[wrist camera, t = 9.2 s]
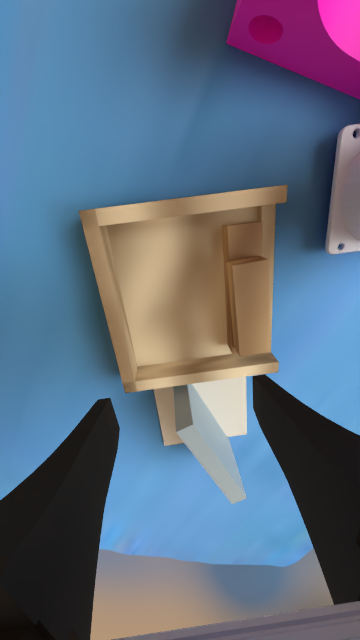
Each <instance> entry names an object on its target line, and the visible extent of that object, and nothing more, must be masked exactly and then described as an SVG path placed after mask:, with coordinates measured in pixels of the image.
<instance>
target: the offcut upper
mask: <svg viewBox="0 0 360 640" xmlns="http://www.w3.org/2000/svg"><path fill="white" fill-rule="evenodd" d="M226 264H227V275H228V285H229V296H230V307H231V317H232V328H233V339H234V347H235V349H236V351H237V353H238V354H239V356H240V357H243V356H248V355H254V354H259V353H265V352H270V351H271V334H270V294H269V259H267V258H264V257H261V256H256V257H250V258H245V259H240V260H234V261H229V262H226Z"/></svg>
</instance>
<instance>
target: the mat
mask: <svg viewBox="0 0 360 640" xmlns="http://www.w3.org/2000/svg"><path fill="white" fill-rule="evenodd" d="M192 385H193V386H194V388H195V389H196V391H197V392H198V394H199V395H200V397H201V398H202V400H203V401H204V403H205V404H206V406H207V407H208V409H209V410H210V412H211V413H212V415H213V416H214V418H215V419H216V421H217V422H218V424H219V425H220V427H221V428H222V430H223V431H224V433H225V434H226V436H227V437H231V436H238V435H245V434H247V414H246V376H245V377H238V378H231V379H223V380H216V381H209V382H202V383H194V384H192ZM154 394H155V399H156V404H157V410H158V415H159V420H160V425H161V430H162V435H163V440H164V445H165V446H167V445H174V444H181V443H184V442H183V441H182V439H181V438H180V437H179V435H178V434H177V433H176V423H175V407H174V391H173V386H172V387H165V388H158V389H154Z"/></svg>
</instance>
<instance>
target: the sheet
mask: <svg viewBox="0 0 360 640" xmlns="http://www.w3.org/2000/svg"><path fill="white" fill-rule="evenodd" d="M173 391H174V407H175V423H176V433H177V434H178V435H179V437H180V438H181V439H182V441H183V442H184V443H185V444H186V446H187V447H188V448H189V449H190V451H191V452H192V453H193V455H194V456H195V457H196V458H197V460H198V461H199V462H200V464H201V465H202V466H203V467H204V469H205V470H206V471H207V473H208V474H209V475H210V476H211V478H212V479H213V480H214V481H215V483H216V484H217V485H218V487H219V488H220V489H221V490H222V492H223V493H224V494H225V496H226V497H227V498H228V499H229V501H230V502H231V503H232V504H233V503H236V502H238V501H241V500H243V499H246V498H247V497H246V494H245V491H244V487H243V484H242V481H241V477H240V474H239V471H238V468H237V464H236V461H235V458H234V454H233V451H232V448H231V444H230V441H229V439H228V437H227V436H226V434H225V433H224V431H223V430H222V428H221V427H220V425H219V424H218V422H217V421H216V419H215V418H214V416H213V415H212V413H211V412H210V410H209V409H208V407H207V406H206V404H205V403H204V401H203V400H202V398H201V397H200V395H199V394H198V392H197V391H196V389H195V388H194V386H193V385H192V384H187V385H180V386H173Z"/></svg>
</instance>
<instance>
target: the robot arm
mask: <svg viewBox="0 0 360 640" xmlns="http://www.w3.org/2000/svg"><path fill="white" fill-rule="evenodd" d="M353 131H356V137H355V138H354V137H353ZM339 244H341V247H340V249H338V245H339ZM325 251H326V252H327V253H328V254H340V253H348V252H355V251H360V124H353V125H348V126H346V127H344V128H342V129H341V130H340V132H339V134H338V139H337V148H336V157H335V166H334V175H333V184H332V192H331V201H330V210H329V219H328V228H327V236H326V245H325ZM253 408H254V411H255V414H256V417H257V419H258V422H259V425H260V427H261V429H262V431H263V433H264V435H265V437H266V439H267V441H268V443H269V445H270V447H271V449H272V451H273V453H274V455H275V457H276V459H277V461H278V462H279V464H280V466H281V468H282V470H283V472H284V474H285V477H286V479H287V481H288V483H289V486H290V488H291V491H292V493H293V495H294V498H295V500H296V503H297V505H298V508H299V510H300V513H301V516H302V518H303V521H304V523H305V526H306V528H307V531H308V534H309V536H310V539H311V542H312V544H313V547H314V549H315V552H316V555H317V558H318V560H319V563H320V566H321V568H322V572H323V574H324V577H325V580H326V583H327V586H328V588H329V591H330V594H331V597H332V599H333V603H334V605H331V606H325V607H318V608H312V609H306V610H299V611H292V612H286V613H280V614H273V615H267V616H260V617H254V618H248V619H242V620H235V621H228V622H222V623H216V624H209V625H203V626H196V627H190V628H183V629H177V630H171V631H164V632H158V633H151V634H145V635H138V636H133V637H126V638H120V639H113V640H360V435H357V434H355V433H353V432H351V431H349V430H347V429H345V428H343V427H342V426H340V425H338V424H336V423H334V422H333V421H331V420H329V419H327V418H325V417H324V416H322V415H320V414H319V413H317V412H316V411H314V410H313V409H311V408H309V407H308V406H306V405H305V404H303V403H302V402H301V401H299V400H298V399H296V398H295V397H294V396H292V395H291V394H289V393H288V392H287V391H285V390H284V389H283V388H282V387H280V386H279V385H278V384H276V383H275V382H274V381H273V380H271V379H270V378H269V377H267V376H266V375H265V374H264V375H258V376H253ZM119 430H120V428H119V425H118V421H117V418H116V415H115V412H114V409H113V405H112V402H111V399H110V398H106V399H99V400H97V402H96V403H95V404H94V405H93V406H92V408H91V409H90V410H89V411H88V413H87V414H86V415H85V416H84V418H83V419H82V420H81V421H80V423H79V424H78V425H77V426H76V427H75V429H74V430H73V431H72V432H71V433H70V435H69V436H68V437H67V438H66V439H65V440H64V441H63V442H62V443H61V445H60V446H59V447H58V448H57V449H56V450H55V451H54V452H53V453H52V454H51V455H50V456H49V457H48V458H47V459H46V460H45V461H44V462H43V463H42V464H41V465H40V466H39V467H38V468H37V469H36V470H35V471H34V472H33V473H32V474H31V475H30V476H29V477H27V478H26V479H25V480H24V481H23V482H22V483H20V484H19V485H18V486H17V487H16V488H15V489H14V490H12V491H11V492H10V493H9V494H8V495H6V496H5V497H4V498H3V499H2V500H0V640H90V634H91V622H92V610H93V598H94V588H95V577H96V568H97V560H98V551H99V543H100V535H101V528H102V521H103V513H104V507H105V502H106V497H107V493H108V488H109V484H110V480H111V475H112V471H113V467H114V462H115V458H116V454H117V449H118V440H119Z"/></svg>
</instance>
